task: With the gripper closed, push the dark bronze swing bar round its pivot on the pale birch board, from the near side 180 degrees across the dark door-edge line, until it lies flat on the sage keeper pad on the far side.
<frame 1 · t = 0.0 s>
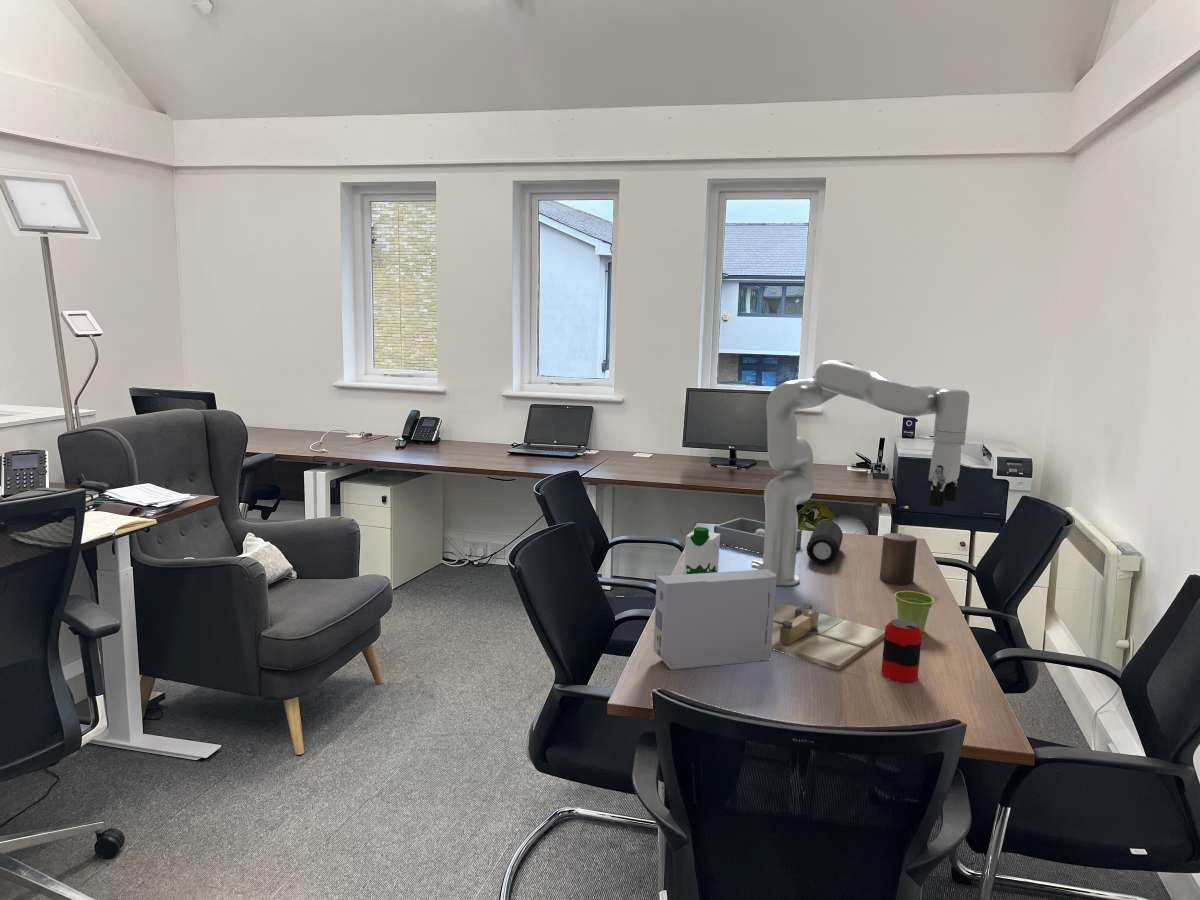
hand: (942, 503, 211), 31 cm above the table, tool pointing down, fingers open, 9 cm apart
plant pot: (911, 630, 207), on the table
milk carton: (700, 597, 227), on the table
game console: (713, 661, 185), on the table
pillar candle: (895, 581, 248), on the table
lock board: (808, 636, 201), on the table
portable speaker: (824, 557, 271), on the table
clip-on lamp: (756, 546, 282), on the table
soda can: (899, 676, 180), on the table
swing bar: (799, 625, 196), point 4 cm above the table, hinge at 0.0°
organiser frame: (756, 544, 282), on the table
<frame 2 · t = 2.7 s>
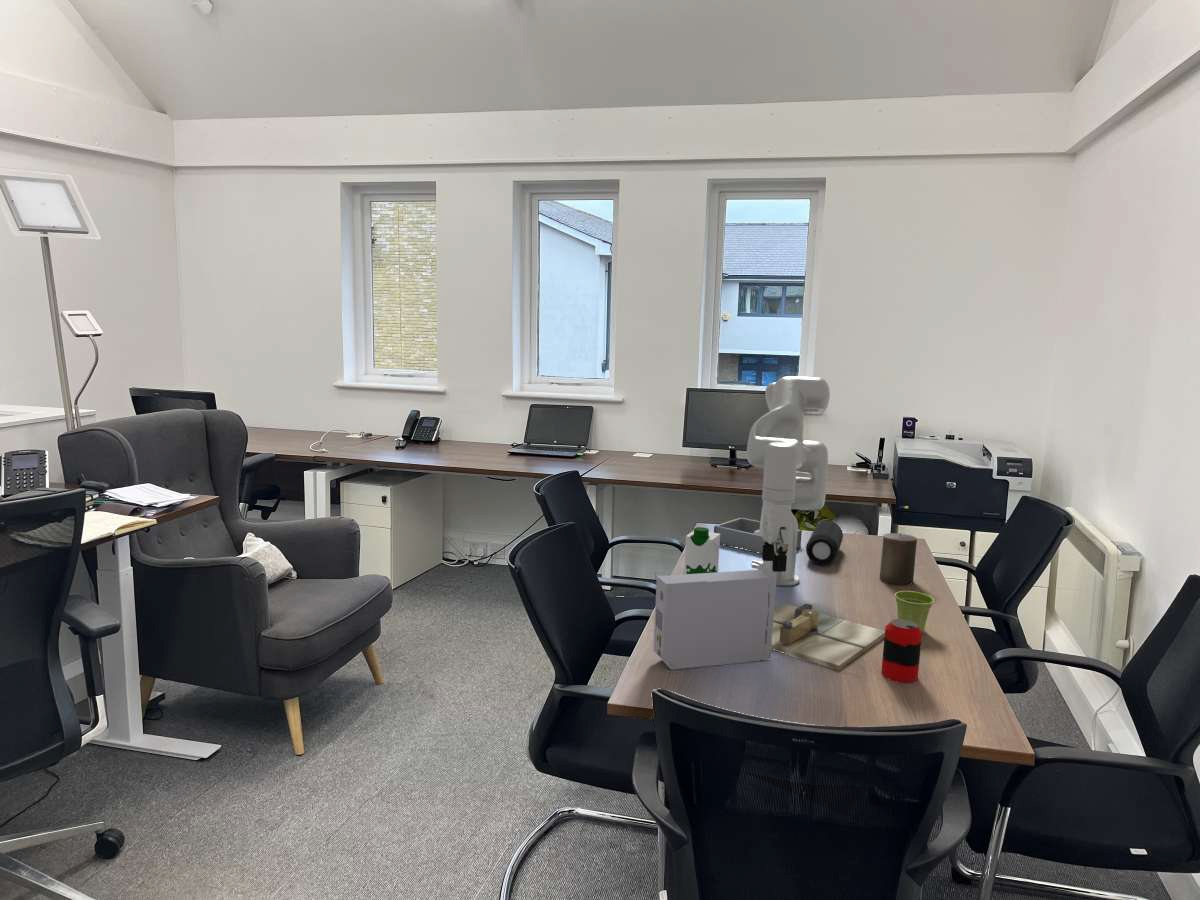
hand: (773, 565, 197), 18 cm above the table, tool pointing down, fingers open, 7 cm apart
clip-on lamp: (754, 547, 281), on the table
everything else where it was.
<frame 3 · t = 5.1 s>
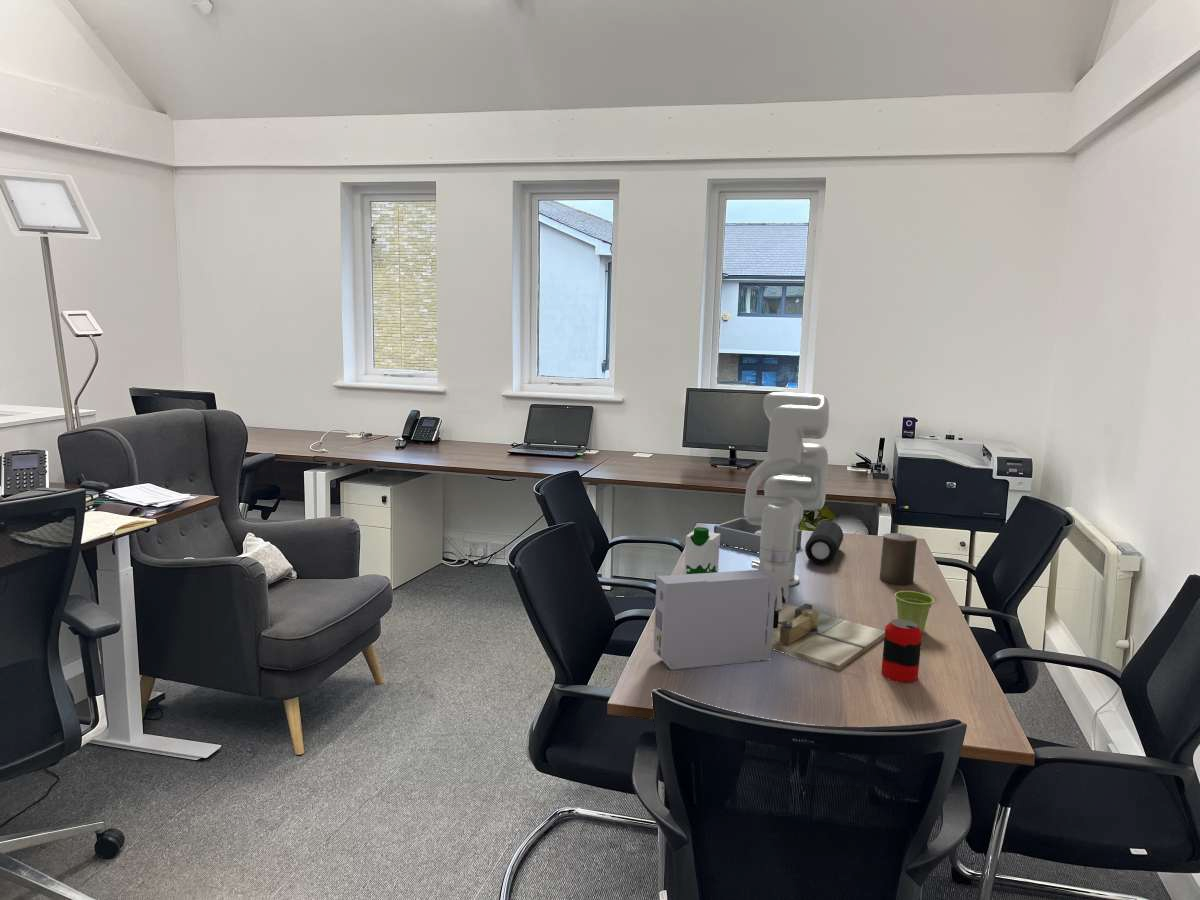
hand: (770, 627, 199), 3 cm above the table, tool pointing down, fingers closed
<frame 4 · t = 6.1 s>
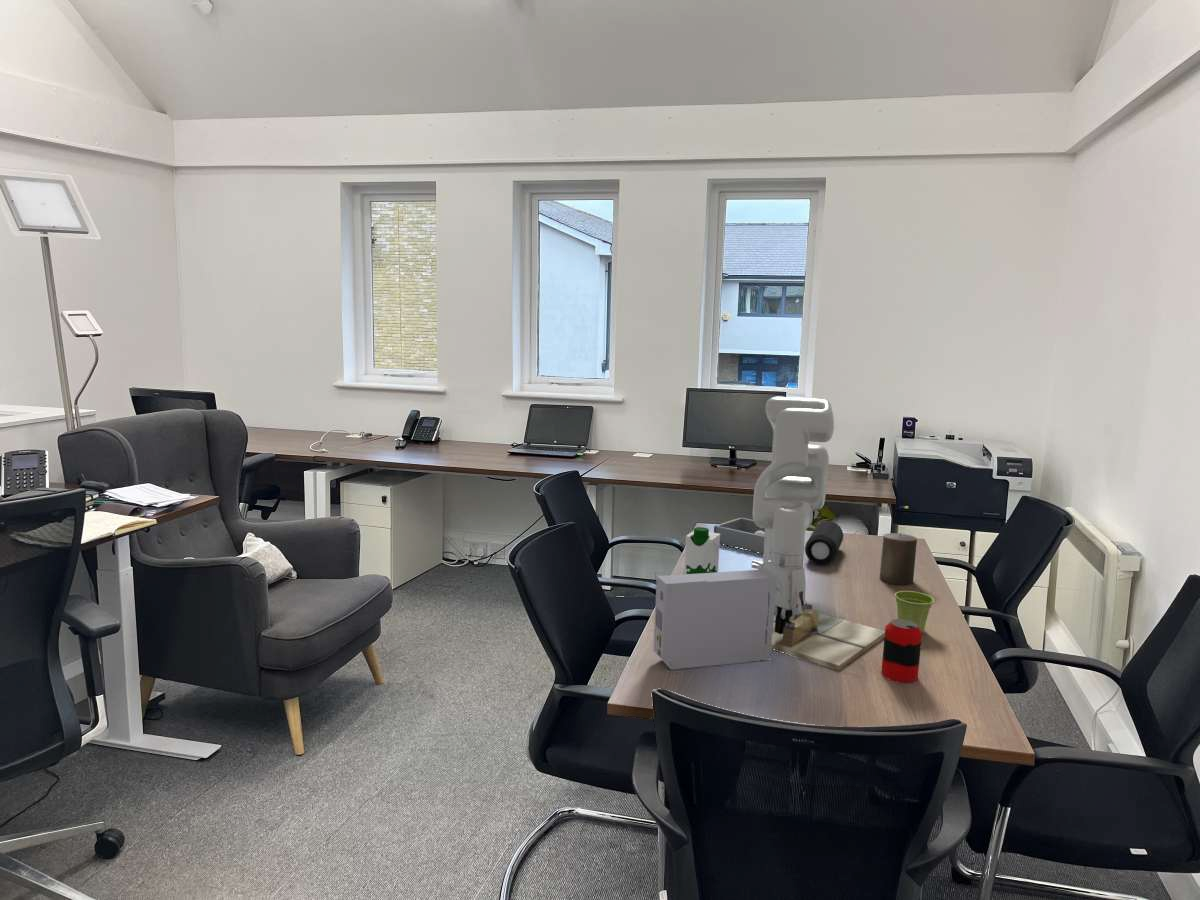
hand: (781, 632, 196), 3 cm above the table, tool pointing down, fingers closed
clip-on lamp: (754, 547, 280), on the table, touching organiser frame
swing bar: (800, 625, 196), point 4 cm above the table, hinge at 3.5°, touching gripper
everything else where it was.
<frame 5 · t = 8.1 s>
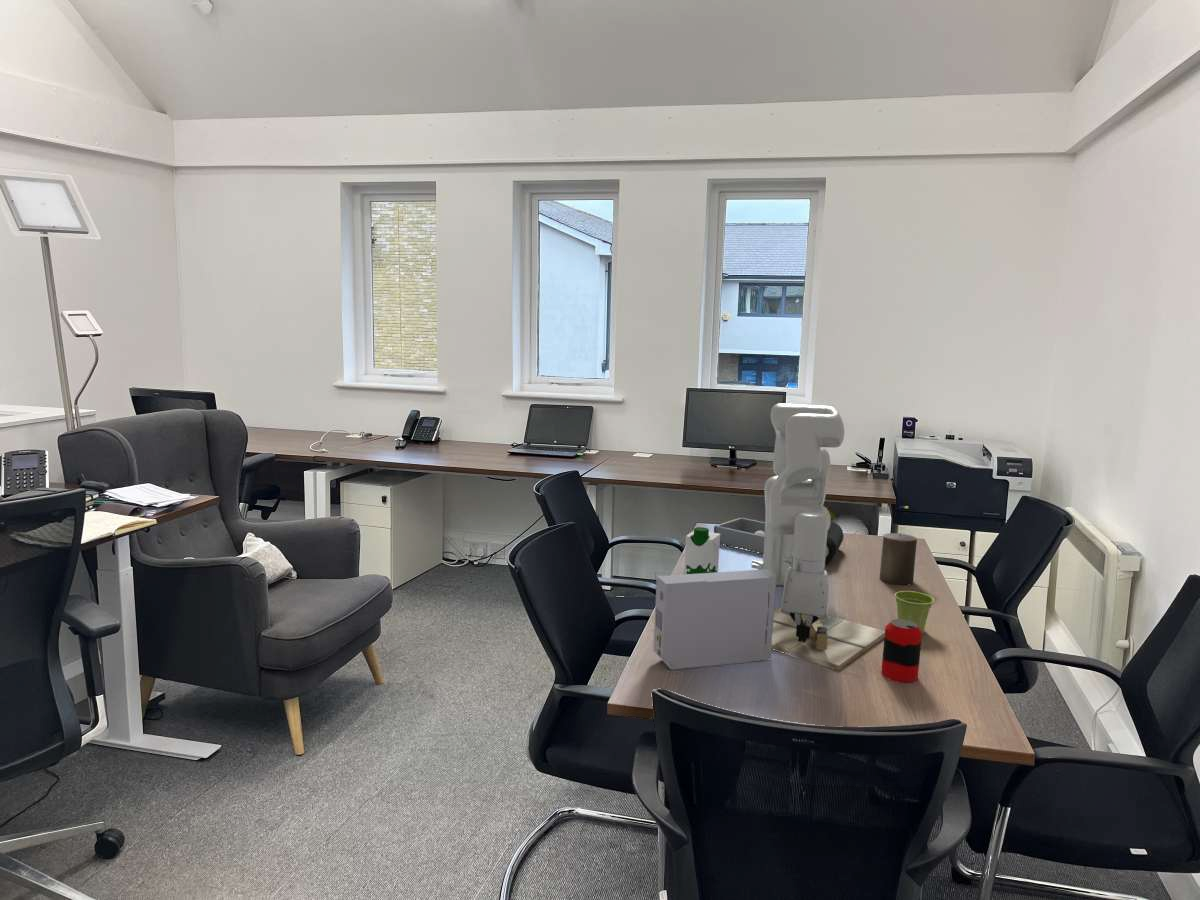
hand: (802, 639, 192), 3 cm above the table, tool pointing down, fingers closed
swing bar: (814, 627, 195), point 4 cm above the table, hinge at 38.2°, touching gripper
everything else where it was.
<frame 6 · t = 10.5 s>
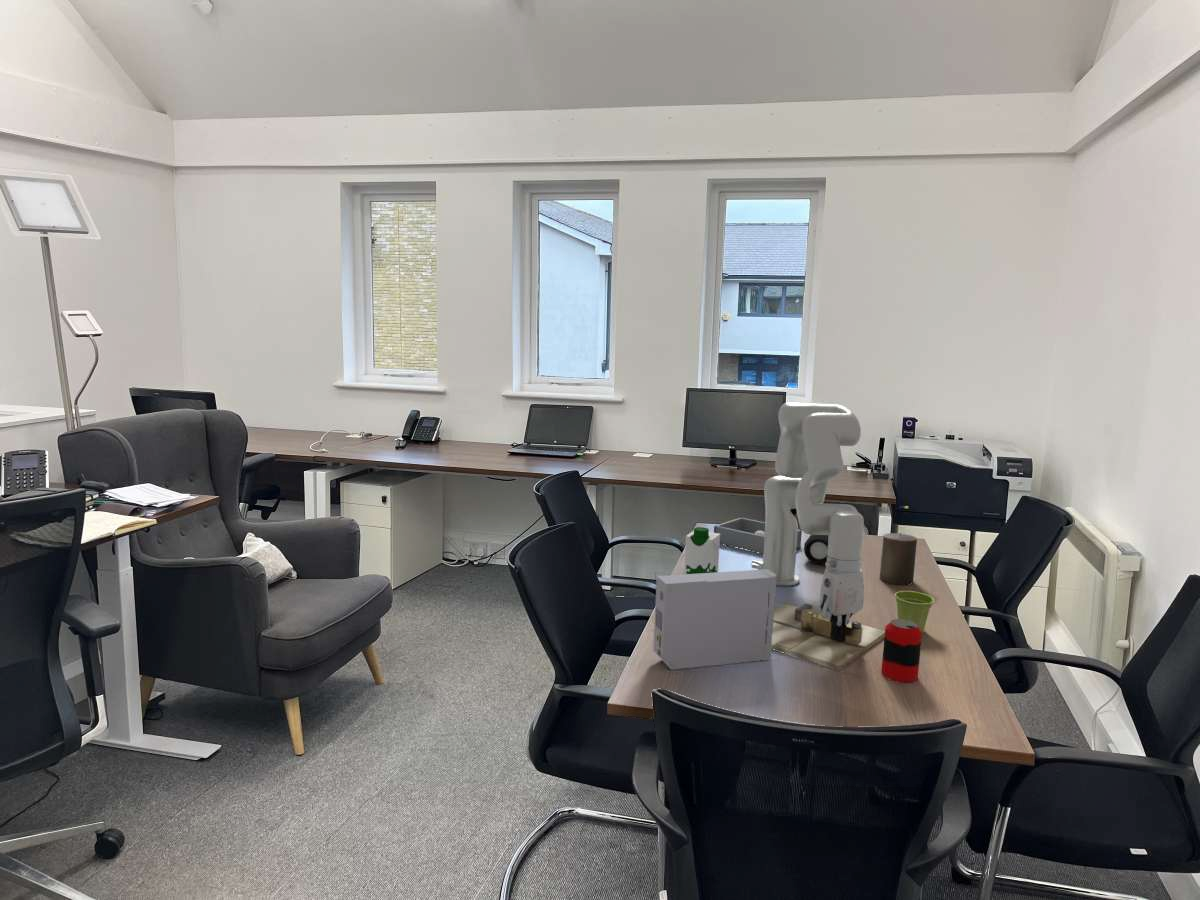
hand: (837, 639, 191), 3 cm above the table, tool pointing down, fingers closed
swing bar: (830, 625, 196), point 4 cm above the table, hinge at 86.6°, touching gripper
everything else where it was.
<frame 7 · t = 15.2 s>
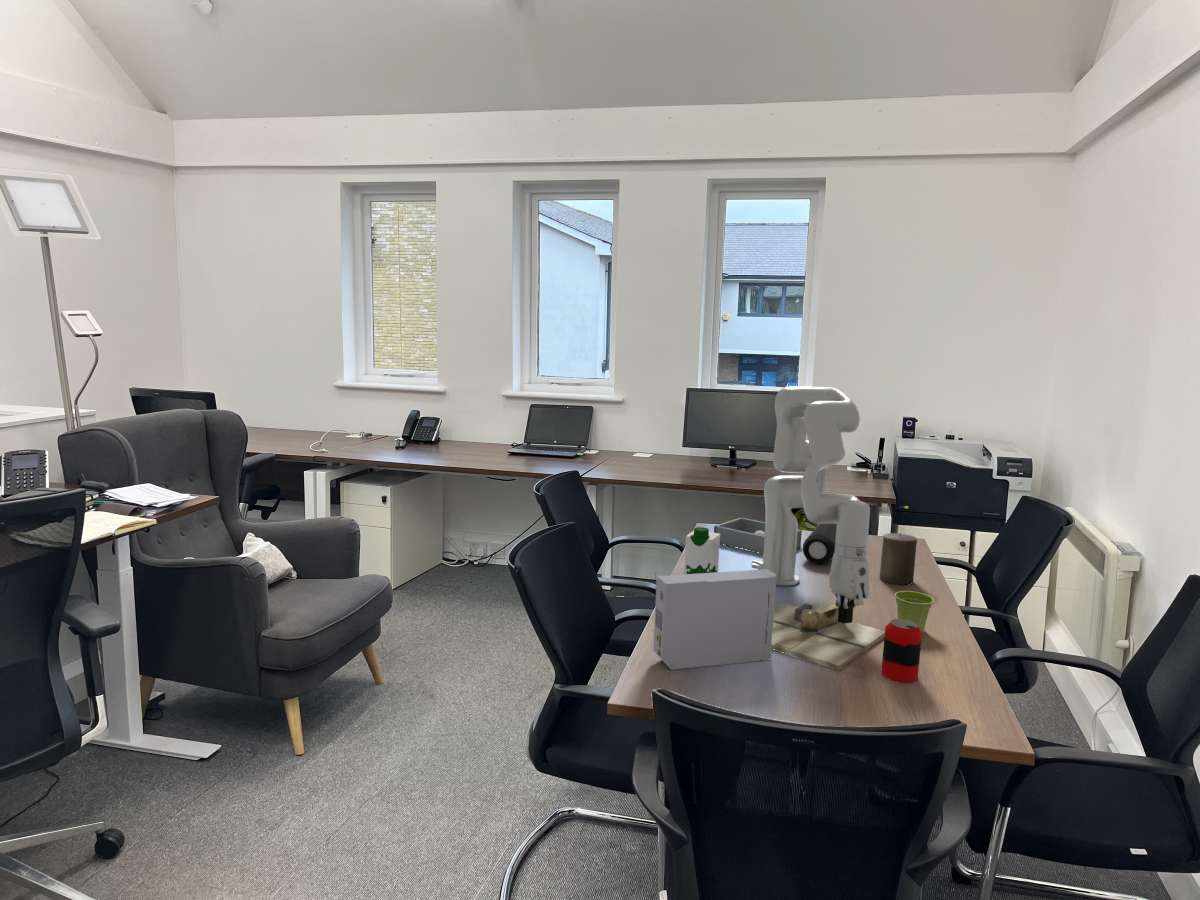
hand: (844, 622, 203), 3 cm above the table, tool pointing down, fingers closed
clip-on lamp: (754, 547, 280), on the table
swing bar: (823, 614, 203), point 4 cm above the table, hinge at 168.1°
everything else where it was.
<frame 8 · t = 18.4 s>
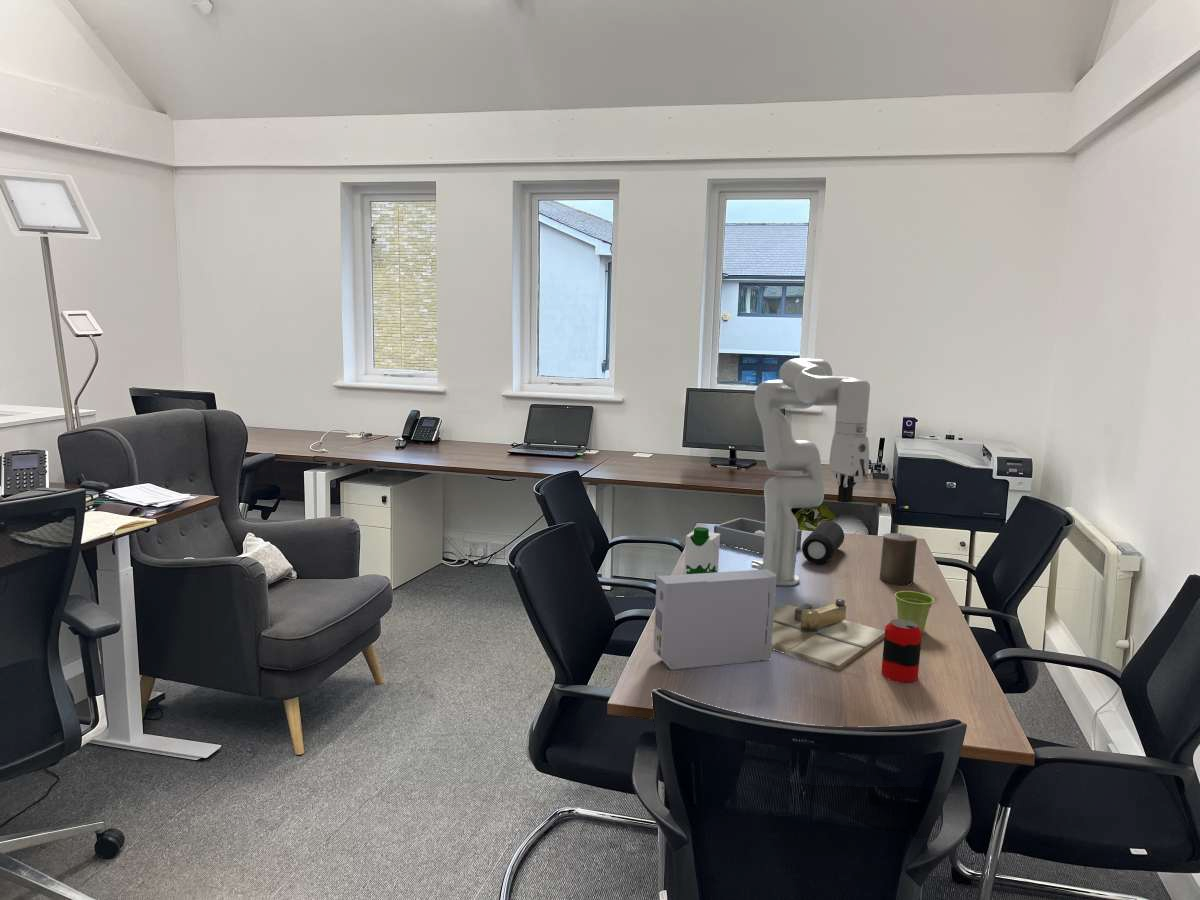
hand: (844, 501, 205), 32 cm above the table, tool pointing down, fingers closed
clip-on lamp: (754, 547, 280), on the table, touching organiser frame
everything else where it was.
at the end: swing bar at +168° (first picture: +0°); swing bar touching nothing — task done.
